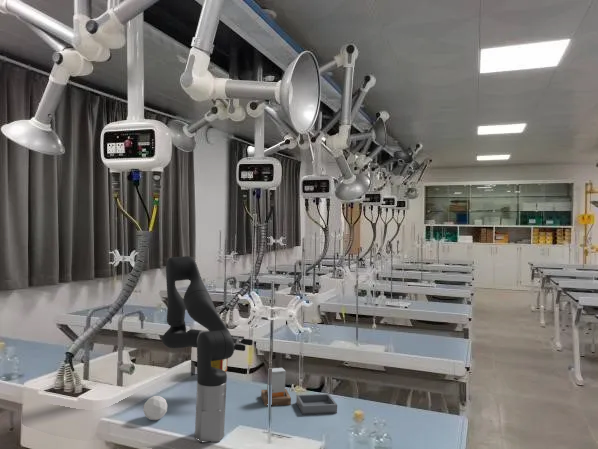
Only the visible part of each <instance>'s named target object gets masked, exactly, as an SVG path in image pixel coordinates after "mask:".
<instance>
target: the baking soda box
mask: <svg viewBox="0 0 598 449" xmlns="http://www.w3.org/2000/svg"><path fill="white" fill-rule="evenodd" d="M228 359H229V358H227V359H223V360H216V361H211V367H214V368H218V369H221V370H223V371H225V372H226V373H227V371H228V363H229V361H228Z"/></svg>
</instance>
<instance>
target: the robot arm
mask: <svg viewBox="0 0 598 449" xmlns="http://www.w3.org/2000/svg"><path fill="white" fill-rule="evenodd" d="M165 266H166V267H165V277H166V278H165V279H166V280H165V281H166V294H167V295H166V296H167V310H166V323H167V325H168V326H170V327H169V328H168V329H167V330H166V331H165V333H164V334H163V335H162V338H161V341H162V343H163V345H164V346H165V347H167V348H169V349H183V348H196V361H197V362H196V376H197V378H196V379H197V380H196V381H197V382H196V400H195V401H196V403H195V419H194V420H195V422H194V423H195V426H194V439H196V438H197V439H199V440H200V441H199V440H198V441H199V443H200V442H202V441H211V442H210V443H217V442H218V443H219V442H220V441H221V440H222V439H223V438H224V437H225V428H226V427H225V423H226V403H227V402H226V400H227V380H228V375H227V371H226V372H225V371H223V370H221V369H218V368H214V367H211V361H216V360H223V359H227V358H228V359H230V358H231V357H232V356H233V355H234V353H235V352H234V351H241V352H245V351H246V346H252V345H253V342H254V341H253V339H250V338H245V336H244V335H243V336H242V335H233V334H232V335H231V333H230V330H229V328H228V327H227V326H226V324H225V323H224V321H223V319H222V318H221V317H220V314H219V312H218V310H217V309H216V307H215V304H214V302H213V299H212V298H211V295H210V293H209V291H208V290H207V287H206V286H205V283H204V282H203V278H202V276H201V274H200V270H199V268H198V265H197V262H196V260H195V259H194V257H193V256H188V255H186V256H185V255H184V256H174V257H169V258H168V259H167V261H166V265H165ZM177 281H179V282H180V281H190V283H189V285H188V286H187V288H186V290H185V292H184V295H183V297H182V295H181V294H180V292H179V290H178V289H177V287H176V282H177ZM186 312H187V314H188V315H189V317H190V318H191V319H192V320H193V321H195V322H196V323H198V324H200V326H202V327H204V328H205V329H206V330H205V329H204V330H202V329H189V330H187V326H186V320H185V317H186ZM197 439H196V440H197ZM202 443H203V442H202Z"/></svg>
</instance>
